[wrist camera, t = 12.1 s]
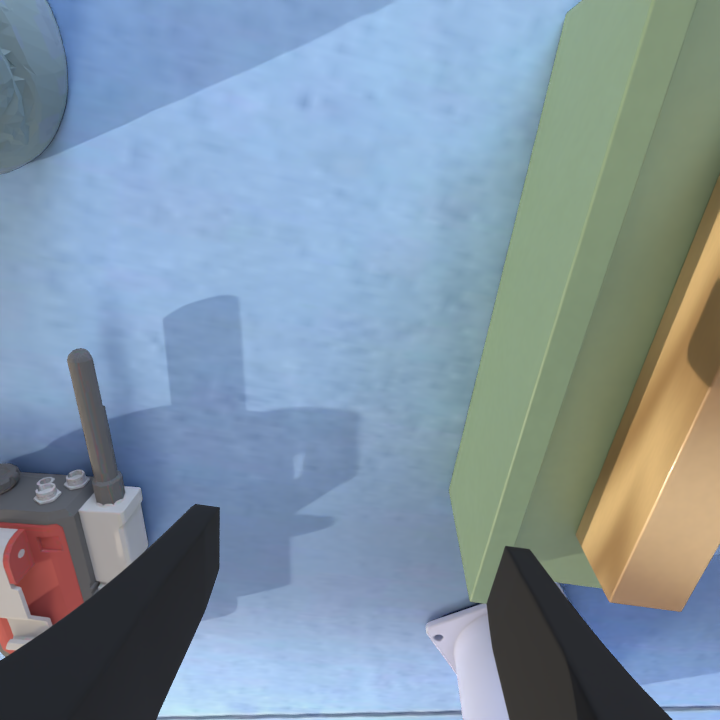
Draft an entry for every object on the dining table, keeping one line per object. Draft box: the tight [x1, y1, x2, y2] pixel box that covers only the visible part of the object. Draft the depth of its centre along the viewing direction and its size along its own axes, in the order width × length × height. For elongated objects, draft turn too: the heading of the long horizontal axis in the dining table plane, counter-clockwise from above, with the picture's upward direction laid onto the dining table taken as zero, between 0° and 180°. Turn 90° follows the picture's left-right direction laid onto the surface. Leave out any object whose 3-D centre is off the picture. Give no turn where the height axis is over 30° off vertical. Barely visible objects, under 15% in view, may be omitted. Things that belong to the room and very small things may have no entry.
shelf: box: [449, 0, 720, 604], centre depth 17 cm, size 20×9×6 cm, turn 173°
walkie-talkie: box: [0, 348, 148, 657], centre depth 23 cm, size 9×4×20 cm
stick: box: [576, 174, 720, 612], centre depth 14 cm, size 15×2×3 cm, turn 173°
